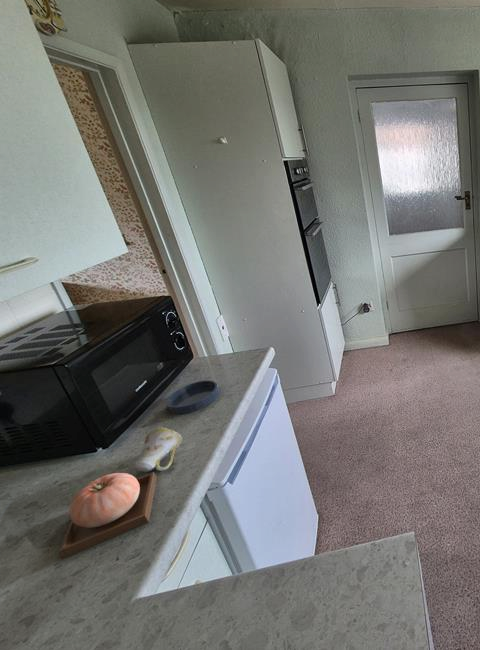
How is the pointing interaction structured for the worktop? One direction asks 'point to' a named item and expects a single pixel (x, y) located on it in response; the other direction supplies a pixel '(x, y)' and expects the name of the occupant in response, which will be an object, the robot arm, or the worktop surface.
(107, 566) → the worktop surface
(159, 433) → the mug
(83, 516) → the pumpkin
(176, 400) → the dark blue ring
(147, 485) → the tray
